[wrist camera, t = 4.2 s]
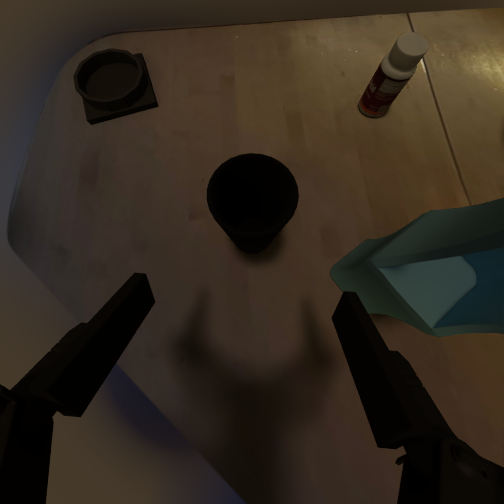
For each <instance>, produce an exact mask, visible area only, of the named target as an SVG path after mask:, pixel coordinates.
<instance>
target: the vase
mask: <svg viewBox="0 0 504 504" xmlns="http://www.w3.org/2000/svg"><path fill="white" fill-rule="evenodd" d="M331 277H332V279H333V280H334V282H335V283H336V284H337V285H338V286H339V288H340V289H341V290H342V291H343V292H344V291H351V292H356V293H357V295H358V297H359V298H360V300H361V302H362V304H363V305H364V307H365V309H366V311H367V312H368V314H384V315H389V316H392V317H394V318H397V319H399V320H401V321H404V322H406V323H408V324H410V325H411V326H413V327H415V328H417V329H419V330H421V331H422V332H424V333H426V334H429V335H433V336H437V337H442V336H449V335H457V334H467V333H502V334H504V198H501V199H497V200H494V201H490V202H486V203H483V204H478V205H473V206H467V207H462V208H453V209H442V210H431V211H429V212H427V213H424V214H422V215H421V216H419V217H418V218H417V219H415V220H414V221H412V222H411V223H409V224H408V225H406V226H405V227H403V228H402V229H400V230H398V231H397V232H395V233H393V234H391V235H389V236H386V237H383V238H378V239H366V240H365V241H364V242H363V243H361V244H360V245H359V246H358V247H356V248H355V249H354V250H353V251H351V252H350V253H349V254H348V255H346V256H345V257H344V258H342V259H341V260H340V261H339V262H337V263H336V264H335V265H334V266H333V267H332V269H331Z"/></svg>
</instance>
